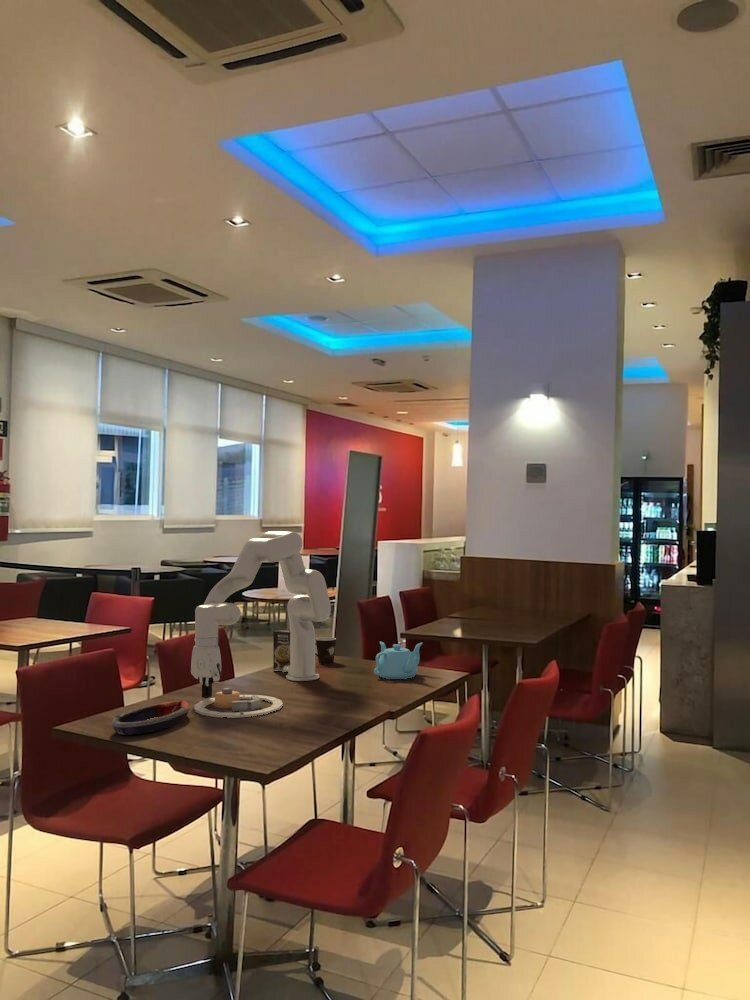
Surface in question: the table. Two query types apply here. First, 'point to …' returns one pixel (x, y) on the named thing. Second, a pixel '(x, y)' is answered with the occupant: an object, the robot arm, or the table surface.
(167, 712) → the dish
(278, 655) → the coffee box
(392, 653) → the teapot
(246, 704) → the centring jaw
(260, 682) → the table surface
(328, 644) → the coffee mug
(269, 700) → the turntable ring
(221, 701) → the orange pumpkin
